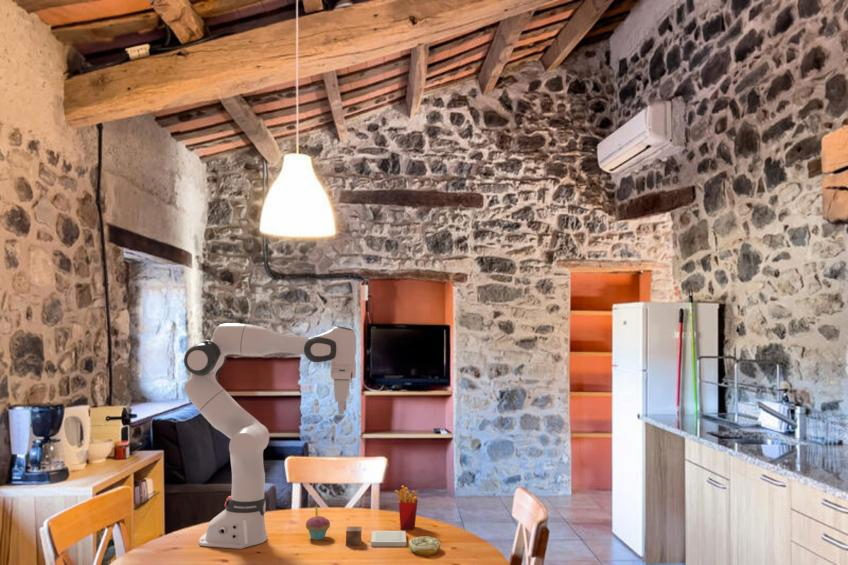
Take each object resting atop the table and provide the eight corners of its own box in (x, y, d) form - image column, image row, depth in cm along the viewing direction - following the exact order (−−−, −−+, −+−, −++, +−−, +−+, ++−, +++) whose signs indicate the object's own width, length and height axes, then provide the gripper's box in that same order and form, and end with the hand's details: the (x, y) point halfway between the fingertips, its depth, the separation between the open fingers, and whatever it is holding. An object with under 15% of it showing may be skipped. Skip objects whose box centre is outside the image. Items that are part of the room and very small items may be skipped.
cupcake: (324, 542, 225) (325, 506, 226) (301, 540, 227) (302, 504, 228) (332, 534, 233) (333, 500, 234) (310, 532, 235) (311, 498, 236)
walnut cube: (345, 546, 222) (346, 530, 222) (346, 541, 227) (347, 526, 227) (360, 546, 222) (360, 531, 223) (361, 541, 227) (361, 526, 228)
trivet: (370, 546, 222) (371, 541, 222) (371, 535, 234) (371, 530, 234) (406, 546, 223) (406, 541, 223) (405, 535, 235) (405, 530, 235)
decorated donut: (409, 557, 213) (409, 545, 214) (408, 546, 224) (408, 534, 224) (441, 556, 214) (441, 544, 214) (438, 545, 225) (438, 534, 225)
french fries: (417, 525, 246) (418, 485, 247) (415, 532, 238) (416, 490, 239) (394, 524, 247) (395, 484, 248) (391, 531, 239) (392, 489, 240)
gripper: (336, 370, 241) (335, 408, 240) (331, 374, 221) (330, 416, 220) (353, 370, 242) (352, 408, 241) (350, 374, 221) (349, 416, 220)
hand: (342, 412), depth 230 cm, fingers open, 8 cm apart
